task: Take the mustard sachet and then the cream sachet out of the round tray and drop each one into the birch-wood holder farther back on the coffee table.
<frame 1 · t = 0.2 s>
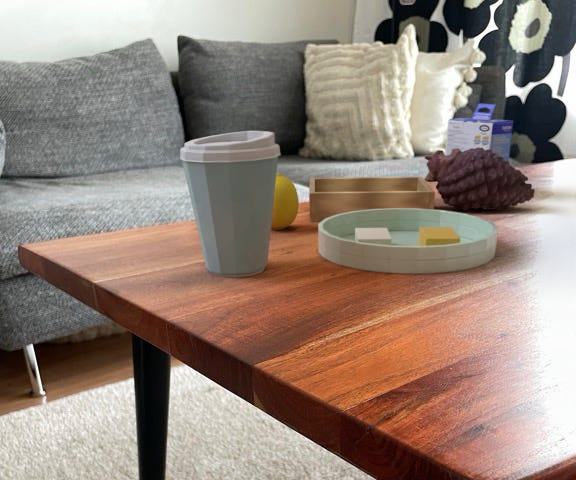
hand: (412, 1, 83), 28 cm above the table, tool pointing down, fingers open, 8 cm apart
round tray: (404, 254, 88), on the table
disposable coffee cup: (235, 275, 82), on the table
pine cone: (475, 210, 112), on the table
holder: (367, 215, 109), on the table
lemon: (278, 234, 100), on the table
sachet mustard: (438, 248, 88), point 1 cm above the table, touching round tray
ink cartridge box: (473, 196, 123), on the table
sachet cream: (372, 249, 88), point 1 cm above the table, touching round tray
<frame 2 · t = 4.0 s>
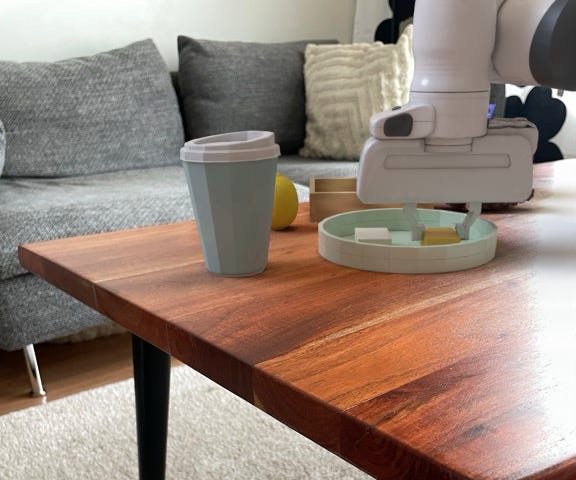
hand: (438, 239, 87), 2 cm above the table, tool pointing down, fingers closed on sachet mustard, 4 cm apart
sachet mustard: (438, 248, 88), point 1 cm above the table, touching round tray, gripper
everything else where it was.
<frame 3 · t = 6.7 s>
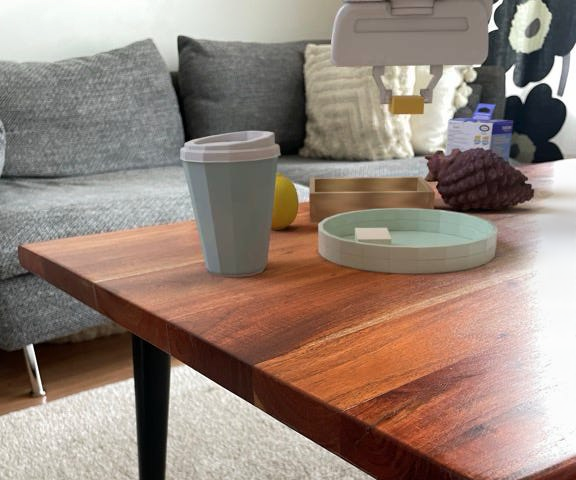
hand: (405, 103, 96), 16 cm above the table, tool pointing down, fingers closed on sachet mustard, 4 cm apart
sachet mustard: (405, 112, 96), point 15 cm above the table, touching gripper
everything else where it was.
when the fingers open (5 cm above the table, at t = 9.7 s): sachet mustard drops 3 cm, resting on holder.
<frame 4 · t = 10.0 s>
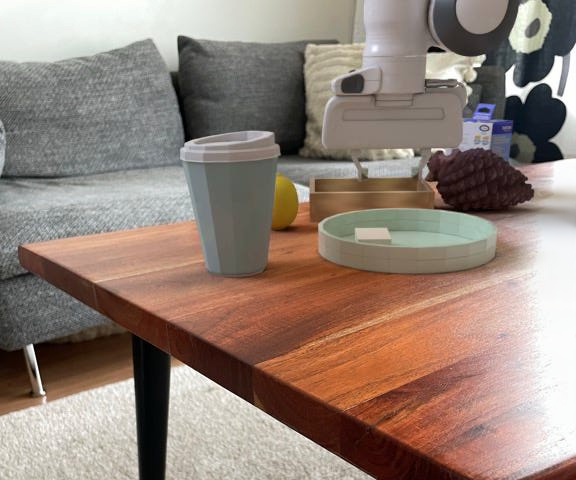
hand: (389, 180, 107), 5 cm above the table, tool pointing down, fingers open, 6 cm apart
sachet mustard: (388, 211, 109), point 1 cm above the table, touching holder
everything else where it was.
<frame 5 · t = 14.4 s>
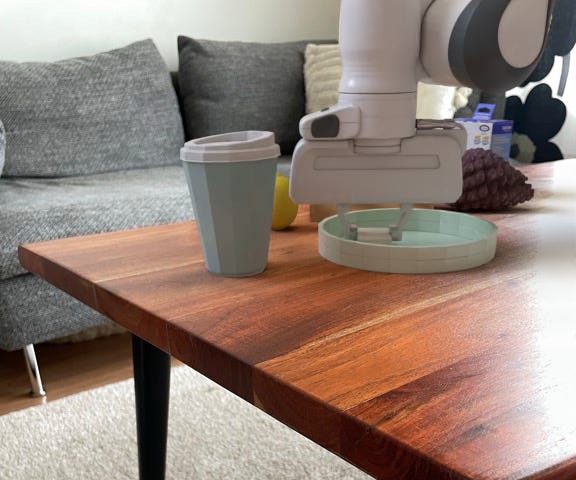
hand: (372, 240, 87), 2 cm above the table, tool pointing down, fingers closed on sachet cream, 4 cm apart
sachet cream: (372, 249, 88), point 1 cm above the table, touching round tray, gripper
everything else where it was.
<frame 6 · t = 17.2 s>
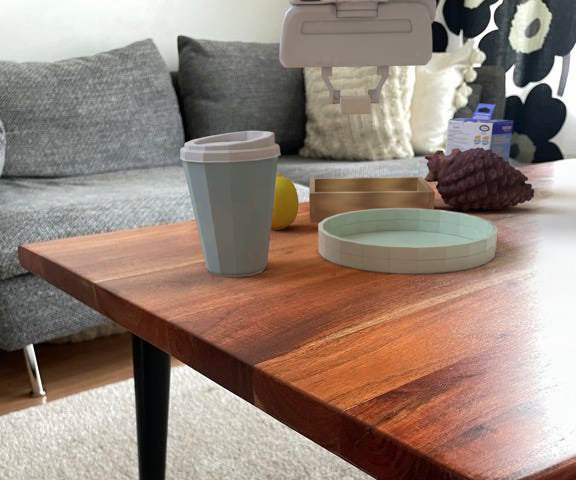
hand: (353, 103, 98), 16 cm above the table, tool pointing down, fingers closed on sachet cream, 4 cm apart
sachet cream: (354, 112, 99), point 15 cm above the table, touching gripper
everything else where it was.
when the fingers open (5 cm above the table, at t = 20.1 s): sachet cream drops 3 cm, resting on holder.
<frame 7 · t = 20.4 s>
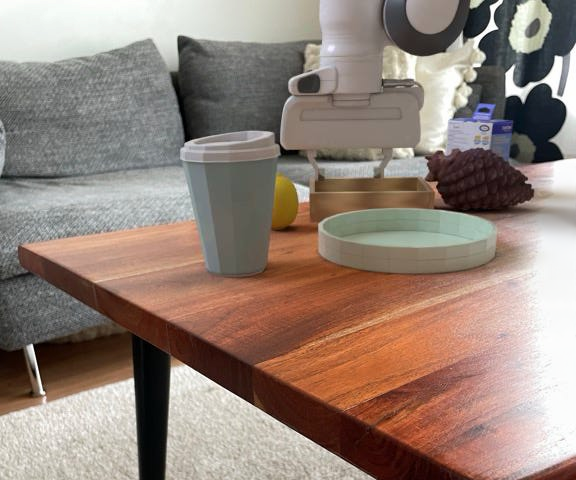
hand: (349, 180, 107), 5 cm above the table, tool pointing down, fingers open, 7 cm apart
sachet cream: (348, 211, 109), point 1 cm above the table, touching holder
everything else where it was.
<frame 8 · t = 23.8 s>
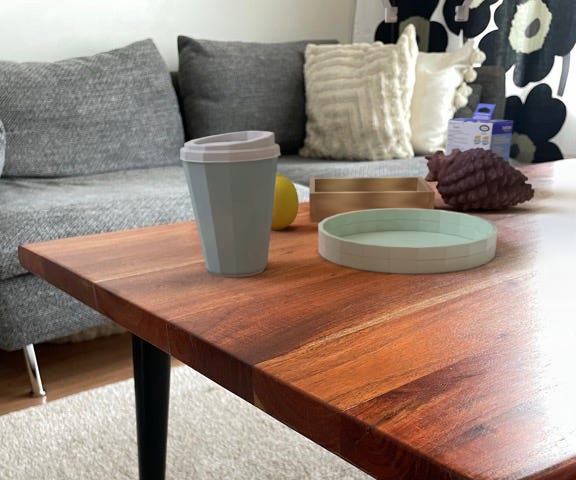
hand: (426, 21, 97), 26 cm above the table, tool pointing down, fingers open, 8 cm apart
nothing on the table moved.
at the end: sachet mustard inside the target area in the holder (3.0 cm from its centre), point 0.6 cm above the holder's base; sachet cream inside the target area in the holder (2.9 cm from its centre), point 0.6 cm above the holder's base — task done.
